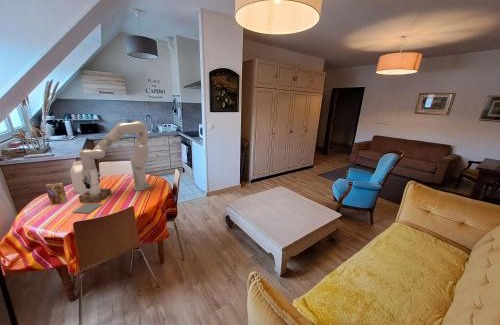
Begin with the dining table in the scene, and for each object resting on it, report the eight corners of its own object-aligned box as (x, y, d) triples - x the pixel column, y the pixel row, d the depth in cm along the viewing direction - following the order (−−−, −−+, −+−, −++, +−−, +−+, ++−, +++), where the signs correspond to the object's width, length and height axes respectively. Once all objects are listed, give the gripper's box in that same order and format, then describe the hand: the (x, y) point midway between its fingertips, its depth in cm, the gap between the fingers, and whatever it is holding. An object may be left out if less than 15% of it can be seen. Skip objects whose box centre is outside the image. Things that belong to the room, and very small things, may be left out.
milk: (80, 194, 164) (72, 164, 156) (74, 190, 170) (66, 162, 162) (96, 189, 174) (90, 161, 166) (90, 185, 180) (83, 158, 172)
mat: (102, 204, 150) (101, 203, 149) (89, 213, 138) (89, 212, 138) (86, 204, 150) (86, 203, 150) (72, 213, 138) (72, 212, 138)
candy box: (68, 200, 154) (62, 182, 150) (65, 203, 151) (59, 184, 146) (53, 201, 152) (48, 183, 147) (50, 204, 148) (44, 186, 143)
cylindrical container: (97, 200, 156) (90, 170, 148) (88, 199, 156) (81, 170, 148) (104, 196, 163) (97, 167, 155) (95, 195, 163) (88, 167, 155)
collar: (111, 194, 166) (110, 188, 165) (98, 202, 152) (97, 197, 151) (94, 193, 166) (93, 188, 165) (80, 202, 153) (78, 196, 151)
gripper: (92, 161, 159) (96, 181, 164) (74, 169, 142) (79, 190, 148) (102, 162, 159) (105, 181, 164) (84, 169, 142) (89, 191, 148)
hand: (93, 185), depth 156 cm, fingers open, 9 cm apart
